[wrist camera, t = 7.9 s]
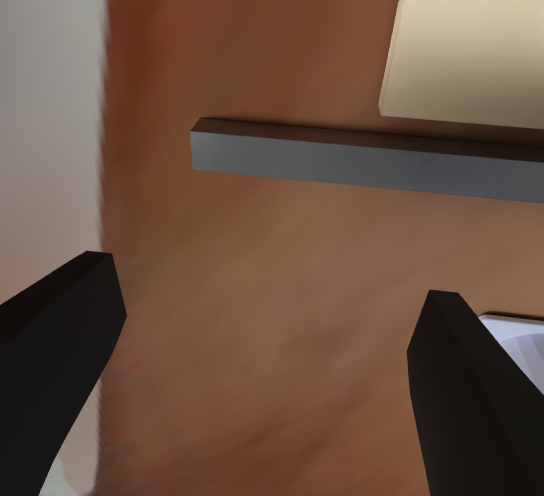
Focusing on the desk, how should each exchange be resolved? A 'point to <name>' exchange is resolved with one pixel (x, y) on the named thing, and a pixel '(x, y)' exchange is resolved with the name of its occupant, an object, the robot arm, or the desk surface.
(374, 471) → the desk surface
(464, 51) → the clamp jaw
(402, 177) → the grey tray
